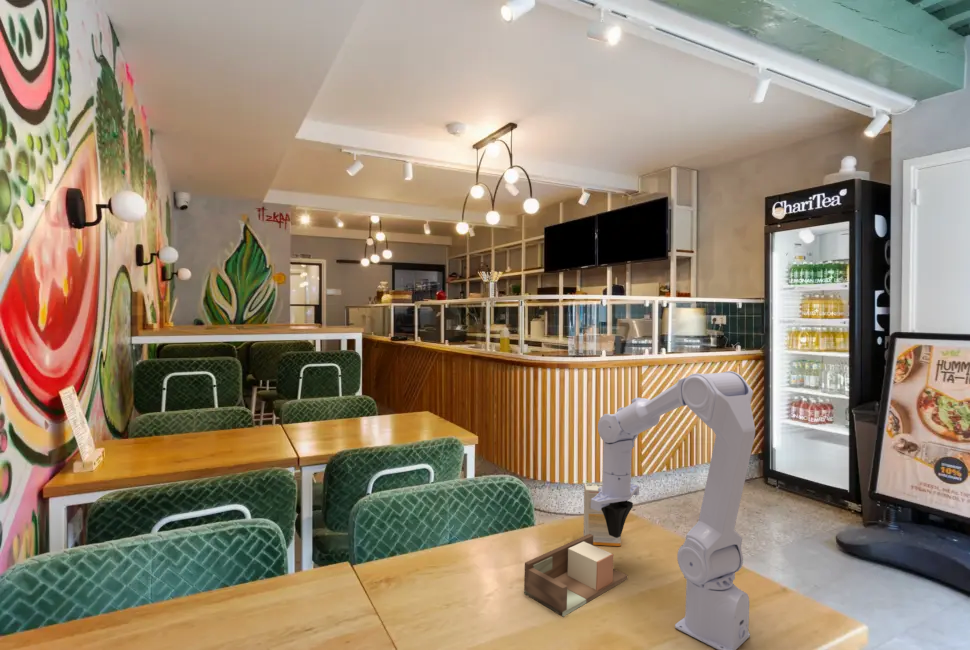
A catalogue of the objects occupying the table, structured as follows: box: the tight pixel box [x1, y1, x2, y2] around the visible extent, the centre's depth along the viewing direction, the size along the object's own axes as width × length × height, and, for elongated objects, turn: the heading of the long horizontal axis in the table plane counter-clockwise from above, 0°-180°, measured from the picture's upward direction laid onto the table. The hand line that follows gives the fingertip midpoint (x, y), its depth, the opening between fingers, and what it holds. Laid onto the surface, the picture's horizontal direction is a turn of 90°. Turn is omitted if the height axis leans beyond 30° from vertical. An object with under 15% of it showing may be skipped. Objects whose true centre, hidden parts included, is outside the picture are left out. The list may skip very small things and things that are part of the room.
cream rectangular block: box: [568, 542, 614, 591], centre depth 104 cm, size 7×5×6 cm
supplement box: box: [583, 482, 622, 547], centre depth 122 cm, size 8×5×13 cm, turn 84°
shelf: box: [523, 534, 628, 617], centre depth 102 cm, size 10×20×6 cm, turn 132°
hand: (614, 535), depth 109 cm, fingers closed
